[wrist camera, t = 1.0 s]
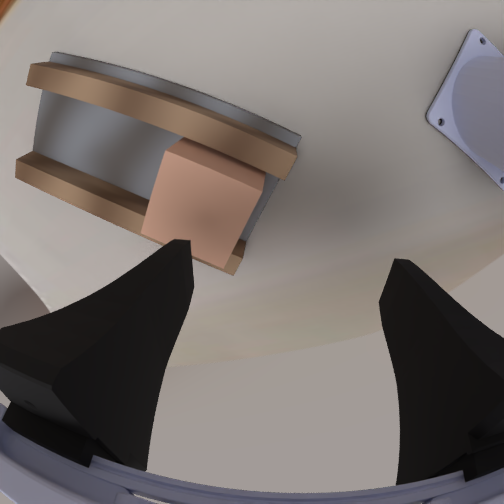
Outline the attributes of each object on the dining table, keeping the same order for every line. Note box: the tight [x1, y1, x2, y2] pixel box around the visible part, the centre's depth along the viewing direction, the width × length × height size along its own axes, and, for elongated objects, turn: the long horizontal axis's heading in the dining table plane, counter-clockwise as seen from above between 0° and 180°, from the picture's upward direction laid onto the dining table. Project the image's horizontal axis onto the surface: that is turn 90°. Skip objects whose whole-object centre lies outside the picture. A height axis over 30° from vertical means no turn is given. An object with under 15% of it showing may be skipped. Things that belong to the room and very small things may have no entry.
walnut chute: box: [15, 52, 301, 276], centre depth 17 cm, size 18×10×2 cm, turn 66°
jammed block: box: [141, 137, 266, 269], centre depth 17 cm, size 5×5×4 cm
